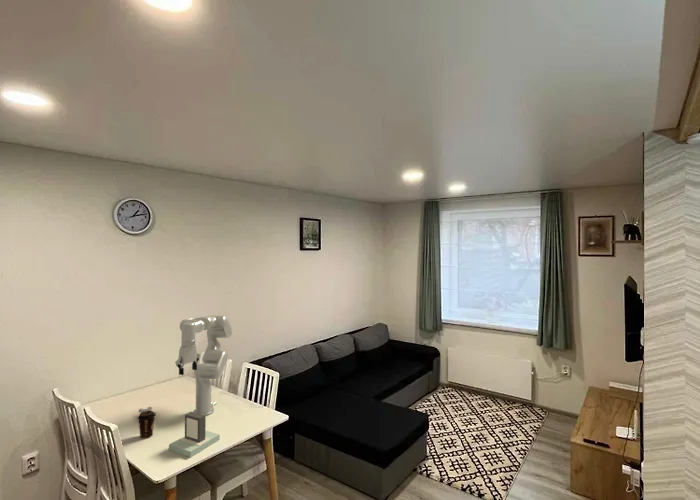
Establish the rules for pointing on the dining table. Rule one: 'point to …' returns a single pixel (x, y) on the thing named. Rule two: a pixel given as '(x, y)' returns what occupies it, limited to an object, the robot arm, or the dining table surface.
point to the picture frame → (195, 426)
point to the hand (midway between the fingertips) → (188, 372)
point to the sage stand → (193, 444)
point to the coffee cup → (146, 424)
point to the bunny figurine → (146, 410)
